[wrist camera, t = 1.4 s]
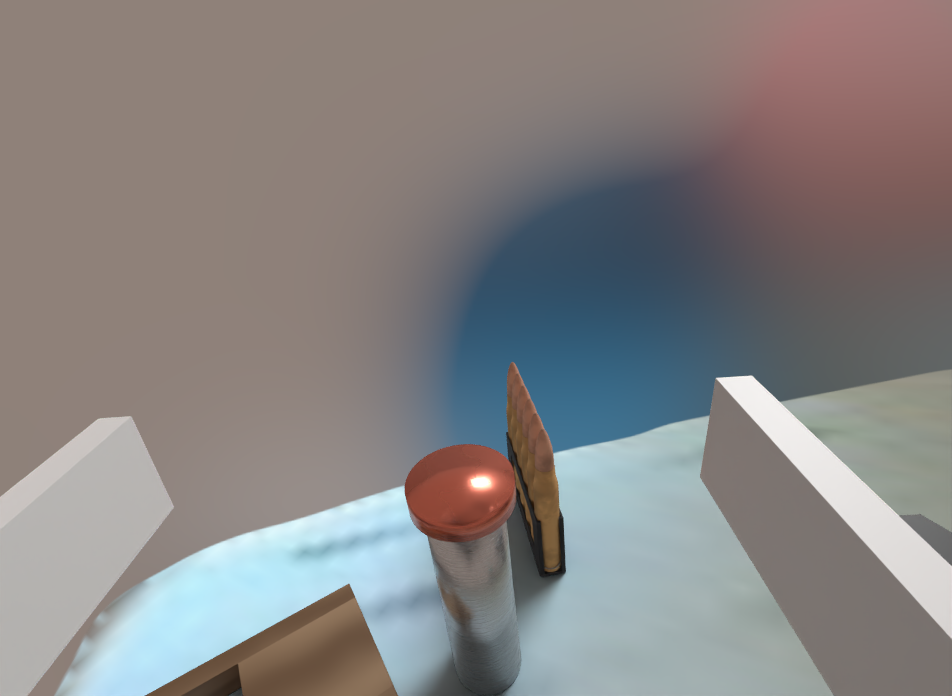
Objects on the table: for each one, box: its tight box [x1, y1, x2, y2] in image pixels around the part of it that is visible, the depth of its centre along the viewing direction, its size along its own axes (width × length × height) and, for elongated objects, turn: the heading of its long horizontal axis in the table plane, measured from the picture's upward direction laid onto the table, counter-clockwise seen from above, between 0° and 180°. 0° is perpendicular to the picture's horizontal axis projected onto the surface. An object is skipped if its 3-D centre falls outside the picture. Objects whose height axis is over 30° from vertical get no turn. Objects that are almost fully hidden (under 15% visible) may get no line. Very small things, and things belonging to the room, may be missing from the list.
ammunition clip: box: [506, 362, 566, 577], centre depth 36 cm, size 11×2×12 cm, turn 8°
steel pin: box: [405, 444, 521, 695], centre depth 26 cm, size 5×5×14 cm
